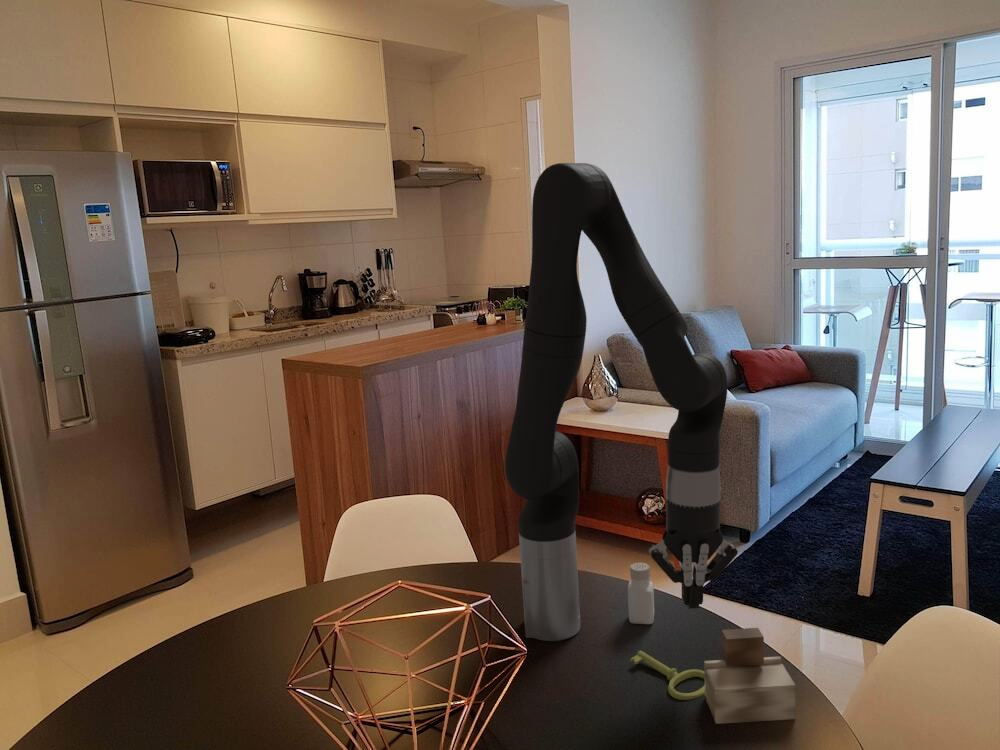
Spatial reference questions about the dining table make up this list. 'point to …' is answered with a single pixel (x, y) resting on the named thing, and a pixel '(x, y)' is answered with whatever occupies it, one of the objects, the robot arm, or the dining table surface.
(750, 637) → the stacked wooden blocks
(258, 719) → the dining table surface
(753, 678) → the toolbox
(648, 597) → the salt shaker
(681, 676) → the key
